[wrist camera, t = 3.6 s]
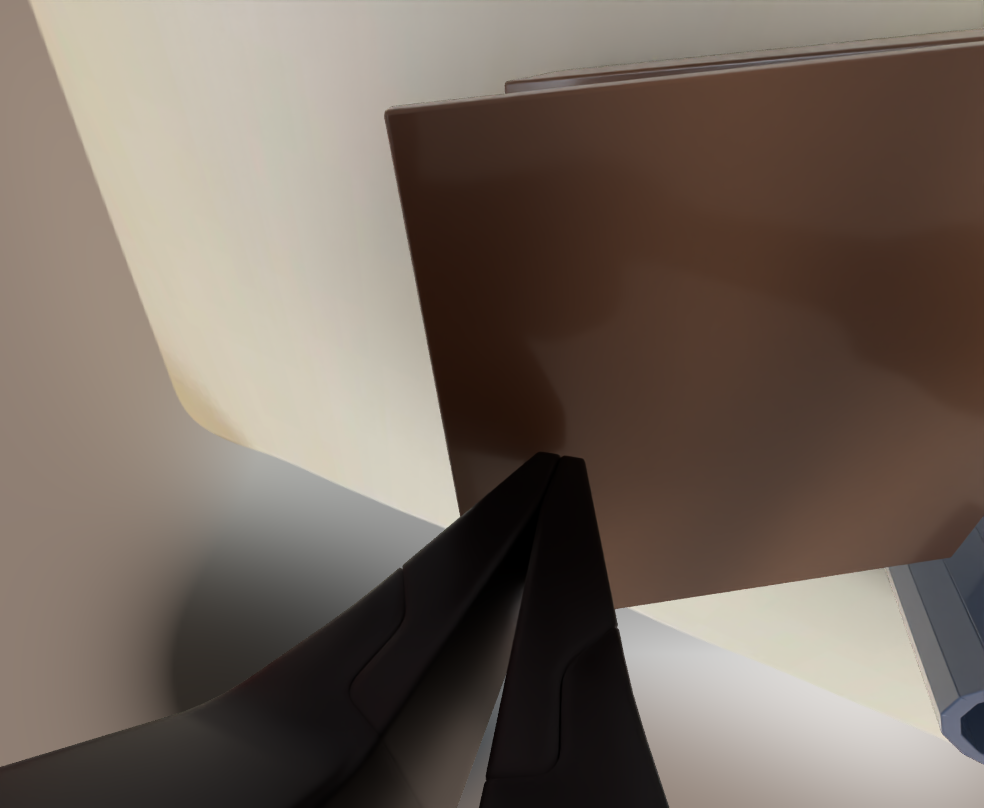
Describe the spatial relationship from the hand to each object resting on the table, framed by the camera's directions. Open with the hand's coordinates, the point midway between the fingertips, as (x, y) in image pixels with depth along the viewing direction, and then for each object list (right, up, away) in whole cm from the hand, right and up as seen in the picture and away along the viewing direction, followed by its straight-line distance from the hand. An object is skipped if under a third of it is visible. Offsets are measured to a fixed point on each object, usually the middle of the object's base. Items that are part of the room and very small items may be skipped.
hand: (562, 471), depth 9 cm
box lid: (+4, +1, +1) cm, 5 cm away
